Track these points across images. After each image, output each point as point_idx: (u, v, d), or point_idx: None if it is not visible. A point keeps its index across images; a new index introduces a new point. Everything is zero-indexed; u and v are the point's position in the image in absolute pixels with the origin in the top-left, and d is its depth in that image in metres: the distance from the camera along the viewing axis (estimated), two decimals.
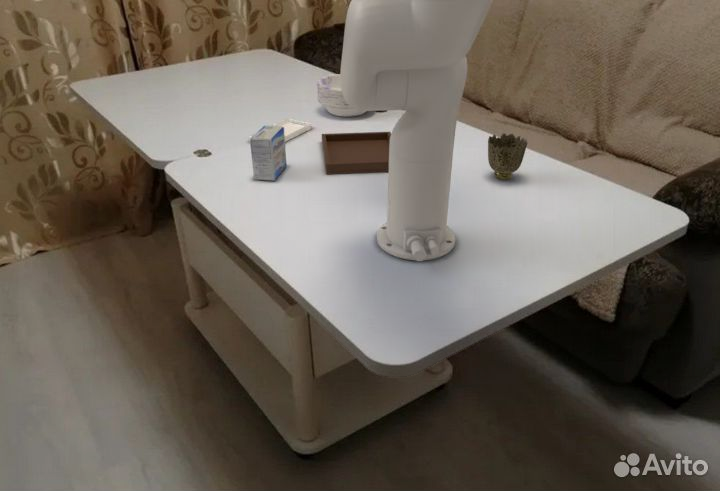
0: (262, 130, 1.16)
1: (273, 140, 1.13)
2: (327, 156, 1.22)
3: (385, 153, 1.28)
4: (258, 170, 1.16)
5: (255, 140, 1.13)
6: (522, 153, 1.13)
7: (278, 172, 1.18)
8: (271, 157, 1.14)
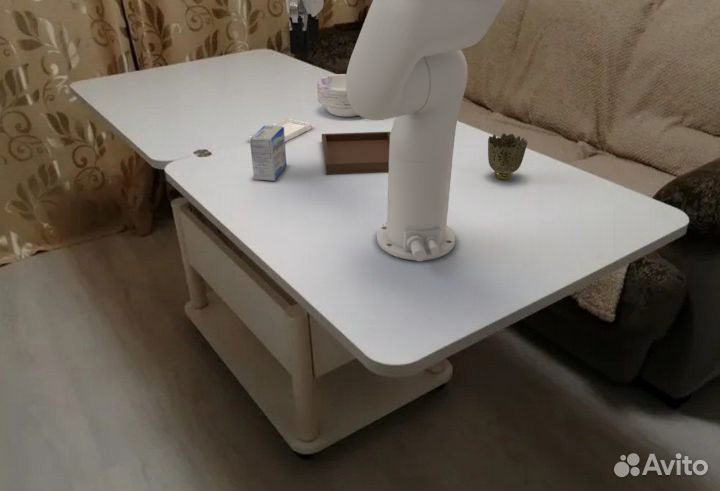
0: (262, 130, 1.16)
1: (273, 140, 1.13)
2: (327, 156, 1.22)
3: (385, 153, 1.28)
4: (258, 170, 1.16)
5: (255, 140, 1.13)
6: (522, 153, 1.13)
7: (278, 172, 1.18)
8: (271, 157, 1.14)
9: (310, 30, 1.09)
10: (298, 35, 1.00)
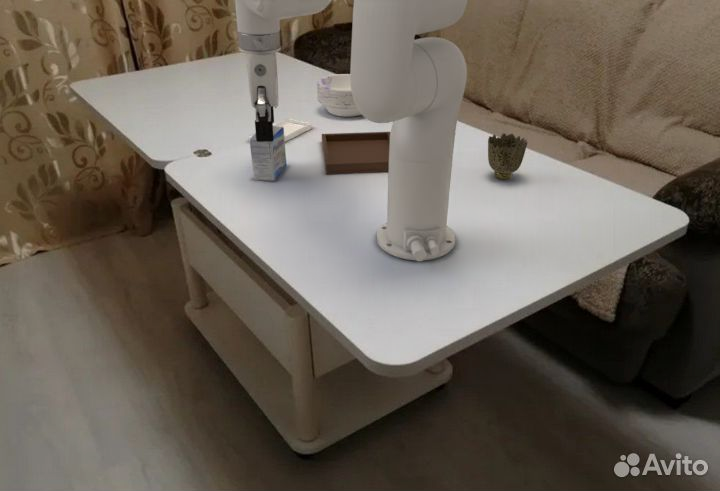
0: None
1: (273, 140, 1.13)
2: (327, 156, 1.22)
3: (385, 153, 1.28)
4: (258, 170, 1.16)
5: (255, 141, 1.13)
6: (522, 153, 1.13)
7: (278, 172, 1.18)
8: (271, 157, 1.14)
9: None
10: (264, 126, 1.09)
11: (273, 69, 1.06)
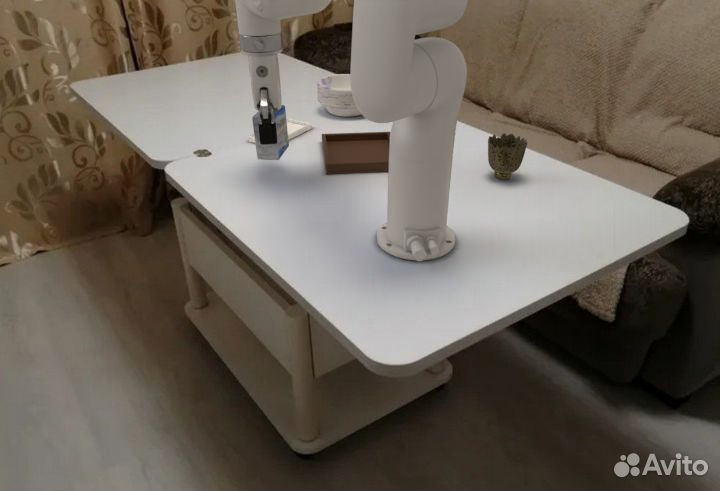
0: None
1: (276, 117, 1.11)
2: (327, 156, 1.22)
3: (385, 153, 1.28)
4: (262, 149, 1.13)
5: (257, 118, 1.10)
6: (522, 153, 1.13)
7: (282, 151, 1.15)
8: None
9: None
10: (267, 128, 1.09)
11: (275, 70, 1.05)
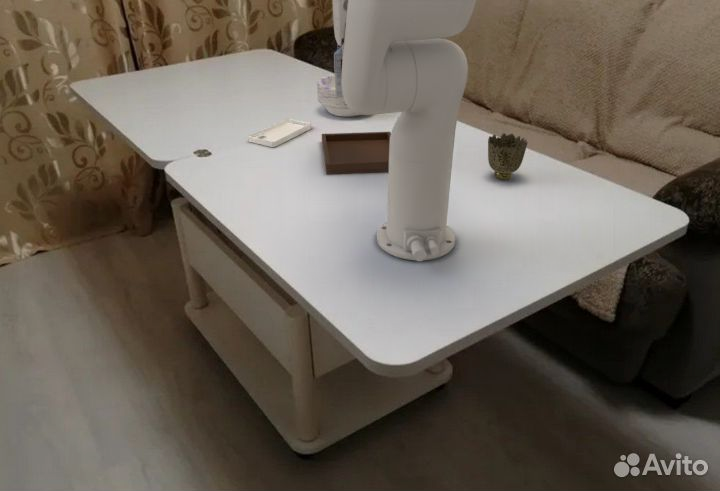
0: None
1: None
2: (327, 156, 1.22)
3: (385, 153, 1.28)
4: (341, 86, 1.15)
5: (339, 54, 1.12)
6: (522, 153, 1.13)
7: None
8: None
9: None
10: None
11: None
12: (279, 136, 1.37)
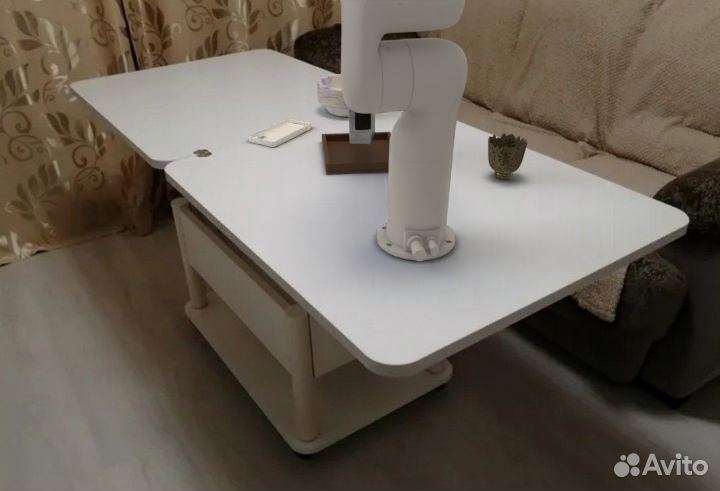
0: None
1: None
2: (327, 156, 1.22)
3: (385, 153, 1.28)
4: (355, 134, 1.21)
5: None
6: (522, 153, 1.13)
7: (371, 136, 1.24)
8: None
9: None
10: (364, 115, 1.17)
11: None
12: (279, 136, 1.37)
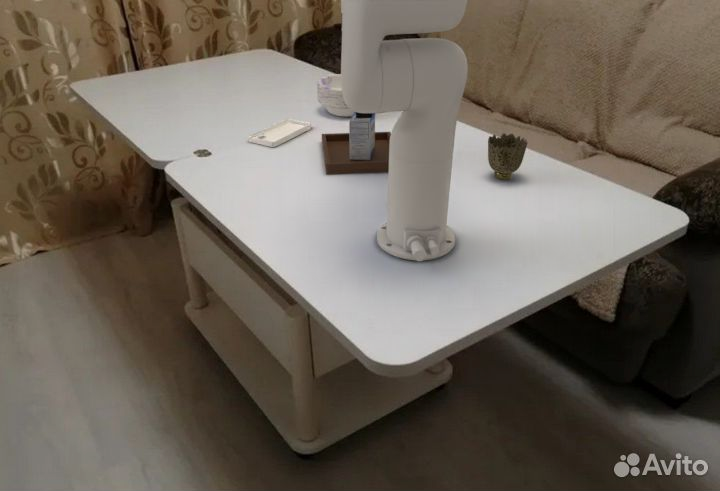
0: None
1: (371, 121, 1.21)
2: (327, 156, 1.22)
3: (385, 153, 1.28)
4: (355, 151, 1.23)
5: (354, 122, 1.20)
6: (522, 153, 1.13)
7: (371, 152, 1.25)
8: (369, 138, 1.21)
9: None
10: None
11: None
12: (279, 136, 1.37)
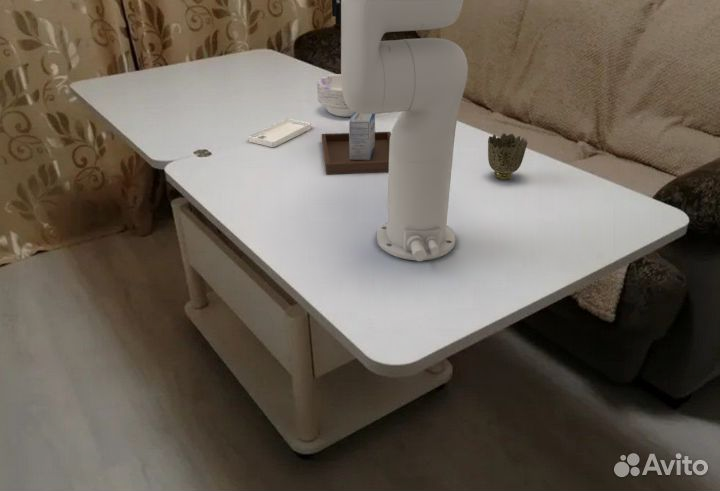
0: (357, 113, 1.24)
1: (371, 122, 1.21)
2: (327, 156, 1.22)
3: (385, 153, 1.28)
4: (355, 151, 1.23)
5: (354, 122, 1.20)
6: (522, 153, 1.13)
7: (371, 152, 1.25)
8: (368, 138, 1.21)
9: None
10: None
11: None
12: (279, 136, 1.37)
